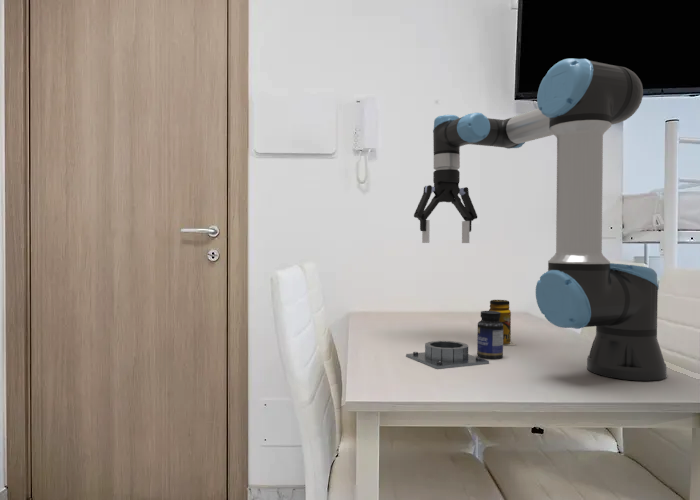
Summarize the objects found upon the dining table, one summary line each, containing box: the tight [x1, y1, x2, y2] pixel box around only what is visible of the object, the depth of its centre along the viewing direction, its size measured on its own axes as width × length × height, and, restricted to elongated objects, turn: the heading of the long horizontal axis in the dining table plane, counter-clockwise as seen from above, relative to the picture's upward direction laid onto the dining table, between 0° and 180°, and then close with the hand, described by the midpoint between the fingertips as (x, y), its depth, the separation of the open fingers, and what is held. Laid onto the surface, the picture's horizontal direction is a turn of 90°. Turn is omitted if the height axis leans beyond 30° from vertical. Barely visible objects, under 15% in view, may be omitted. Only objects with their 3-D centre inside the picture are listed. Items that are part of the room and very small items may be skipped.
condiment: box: [488, 299, 517, 346], centre depth 146 cm, size 7×8×12 cm
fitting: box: [405, 340, 490, 370], centre depth 124 cm, size 14×14×4 cm
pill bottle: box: [476, 310, 504, 360], centre depth 128 cm, size 6×6×11 cm
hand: (446, 243), depth 152 cm, fingers open, 13 cm apart
